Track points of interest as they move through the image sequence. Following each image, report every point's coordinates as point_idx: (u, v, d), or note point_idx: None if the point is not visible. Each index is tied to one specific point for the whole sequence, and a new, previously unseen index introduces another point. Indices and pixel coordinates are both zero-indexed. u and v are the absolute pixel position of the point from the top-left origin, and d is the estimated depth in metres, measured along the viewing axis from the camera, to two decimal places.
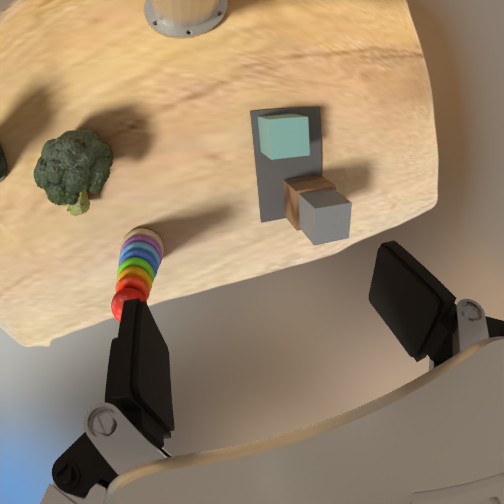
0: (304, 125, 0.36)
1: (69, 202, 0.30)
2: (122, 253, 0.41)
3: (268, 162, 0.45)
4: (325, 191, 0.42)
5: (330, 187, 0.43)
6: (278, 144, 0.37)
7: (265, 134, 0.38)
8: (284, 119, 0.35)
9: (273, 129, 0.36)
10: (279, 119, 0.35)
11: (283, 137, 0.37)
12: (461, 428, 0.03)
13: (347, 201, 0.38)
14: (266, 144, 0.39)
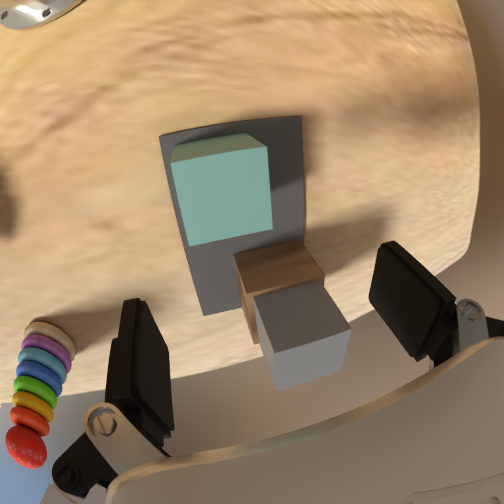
0: (258, 167, 0.17)
1: None
2: (19, 360, 0.22)
3: None
4: (304, 289, 0.23)
5: (315, 278, 0.24)
6: (199, 214, 0.18)
7: None
8: (209, 158, 0.16)
9: (184, 184, 0.16)
10: (197, 159, 0.16)
11: (210, 198, 0.17)
12: (461, 428, 0.03)
13: (343, 326, 0.19)
14: None
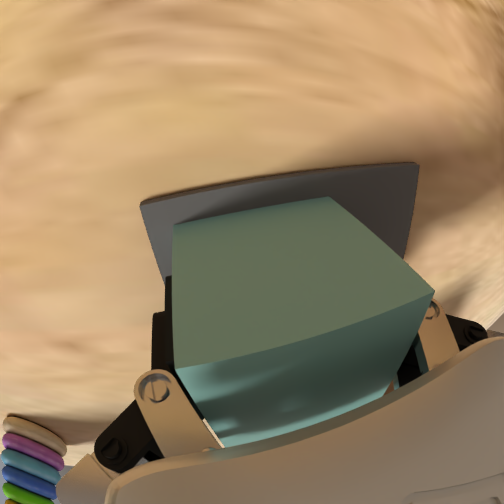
0: (402, 335, 0.06)
1: None
2: None
3: None
4: None
5: None
6: (253, 426, 0.07)
7: None
8: (297, 347, 0.05)
9: (221, 398, 0.06)
10: (260, 352, 0.05)
11: (281, 406, 0.07)
12: (461, 428, 0.03)
13: None
14: None
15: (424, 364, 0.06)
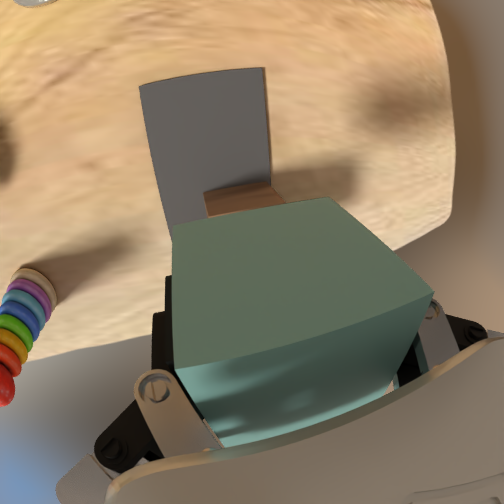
0: (402, 335, 0.06)
1: None
2: (2, 304, 0.23)
3: (175, 167, 0.26)
4: None
5: None
6: (252, 426, 0.07)
7: None
8: (296, 347, 0.05)
9: (221, 398, 0.06)
10: (259, 353, 0.05)
11: (281, 407, 0.07)
12: (461, 428, 0.03)
13: None
14: None
15: (424, 364, 0.06)
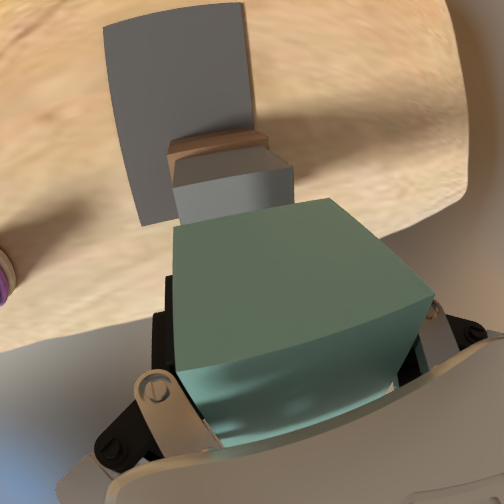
0: (403, 337, 0.06)
1: None
2: None
3: (138, 111, 0.20)
4: (239, 150, 0.17)
5: (255, 142, 0.18)
6: (253, 427, 0.07)
7: None
8: (297, 350, 0.05)
9: (222, 400, 0.06)
10: (261, 355, 0.05)
11: (282, 408, 0.07)
12: (461, 428, 0.03)
13: (280, 165, 0.14)
14: None
15: (424, 364, 0.06)
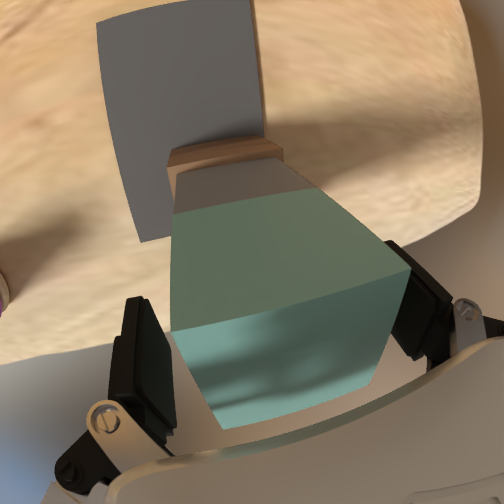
0: (383, 311, 0.07)
1: None
2: None
3: (135, 115, 0.18)
4: (251, 163, 0.15)
5: (268, 153, 0.16)
6: (244, 399, 0.08)
7: None
8: (279, 314, 0.06)
9: (213, 366, 0.06)
10: (246, 318, 0.06)
11: (271, 379, 0.07)
12: (461, 428, 0.03)
13: (302, 186, 0.12)
14: None
15: None
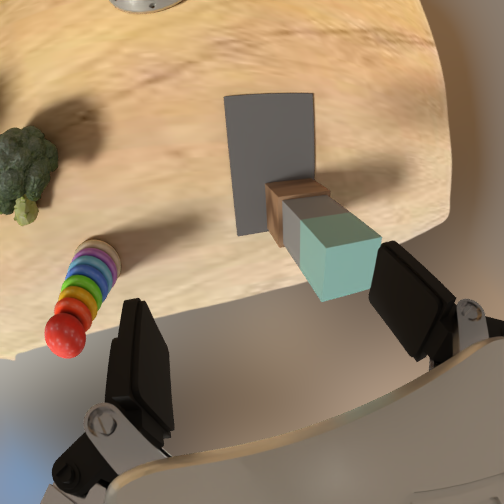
0: (374, 250, 0.24)
1: (3, 211, 0.21)
2: (69, 268, 0.31)
3: (246, 161, 0.36)
4: (317, 198, 0.33)
5: (323, 193, 0.34)
6: (334, 281, 0.25)
7: (314, 259, 0.26)
8: (349, 245, 0.23)
9: (331, 261, 0.24)
10: (342, 245, 0.23)
11: (343, 271, 0.25)
12: (461, 428, 0.03)
13: (344, 211, 0.29)
14: (314, 273, 0.27)
15: None
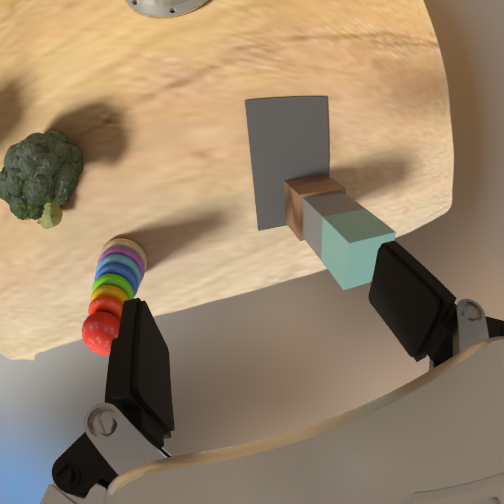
0: None
1: (32, 216, 0.24)
2: (98, 267, 0.34)
3: (267, 161, 0.38)
4: (334, 195, 0.35)
5: (339, 190, 0.36)
6: (354, 271, 0.28)
7: (337, 252, 0.29)
8: (368, 240, 0.26)
9: (353, 254, 0.26)
10: (362, 240, 0.26)
11: (362, 262, 0.27)
12: (461, 428, 0.03)
13: (360, 208, 0.32)
14: (336, 265, 0.30)
15: None
